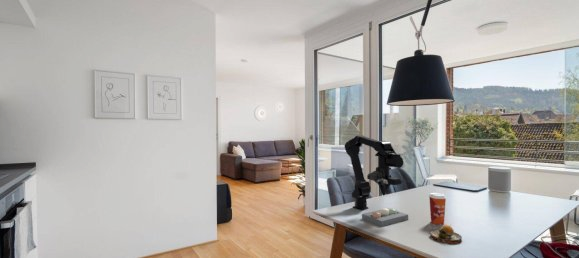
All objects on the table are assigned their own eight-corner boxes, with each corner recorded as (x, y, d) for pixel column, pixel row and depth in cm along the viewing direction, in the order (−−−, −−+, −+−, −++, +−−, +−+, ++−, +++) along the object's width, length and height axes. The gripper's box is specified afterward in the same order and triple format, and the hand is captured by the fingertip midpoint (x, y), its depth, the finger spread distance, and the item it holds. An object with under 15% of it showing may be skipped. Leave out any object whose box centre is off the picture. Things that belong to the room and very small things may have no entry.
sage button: (387, 215, 148) (387, 209, 148) (392, 214, 150) (392, 207, 150) (393, 217, 144) (393, 211, 144) (398, 216, 146) (398, 209, 146)
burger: (452, 233, 125) (452, 216, 125) (468, 244, 113) (468, 226, 113) (424, 233, 125) (424, 216, 125) (437, 244, 114) (437, 226, 114)
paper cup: (437, 226, 133) (437, 196, 133) (425, 221, 141) (425, 192, 141) (450, 224, 135) (450, 195, 135) (438, 219, 143) (438, 191, 143)
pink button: (370, 219, 142) (370, 212, 142) (376, 218, 144) (376, 211, 144) (376, 222, 138) (376, 215, 138) (382, 220, 140) (382, 213, 140)
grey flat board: (362, 218, 145) (361, 213, 145) (387, 212, 154) (387, 208, 154) (381, 226, 134) (381, 221, 134) (408, 219, 143) (408, 214, 143)
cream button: (379, 215, 145) (379, 208, 145) (384, 214, 147) (384, 207, 147) (385, 217, 141) (385, 210, 141) (390, 216, 143) (390, 209, 143)
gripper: (359, 164, 152) (359, 193, 153) (386, 169, 136) (385, 201, 136) (375, 162, 158) (374, 190, 158) (402, 167, 141) (402, 198, 141)
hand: (383, 195), depth 148 cm, fingers closed
